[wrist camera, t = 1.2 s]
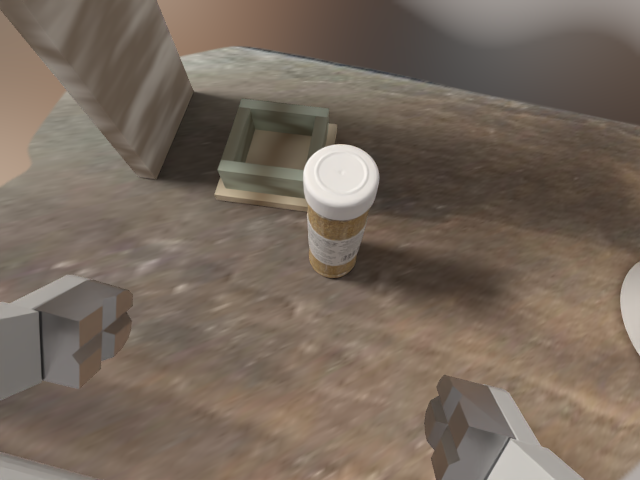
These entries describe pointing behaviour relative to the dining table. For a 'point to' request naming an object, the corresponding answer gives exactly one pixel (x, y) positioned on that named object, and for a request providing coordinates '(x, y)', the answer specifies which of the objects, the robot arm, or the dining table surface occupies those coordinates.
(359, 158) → the sprinkles bottle
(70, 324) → the robot arm
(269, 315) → the dining table surface
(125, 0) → the awning socket
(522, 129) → the dining table surface
